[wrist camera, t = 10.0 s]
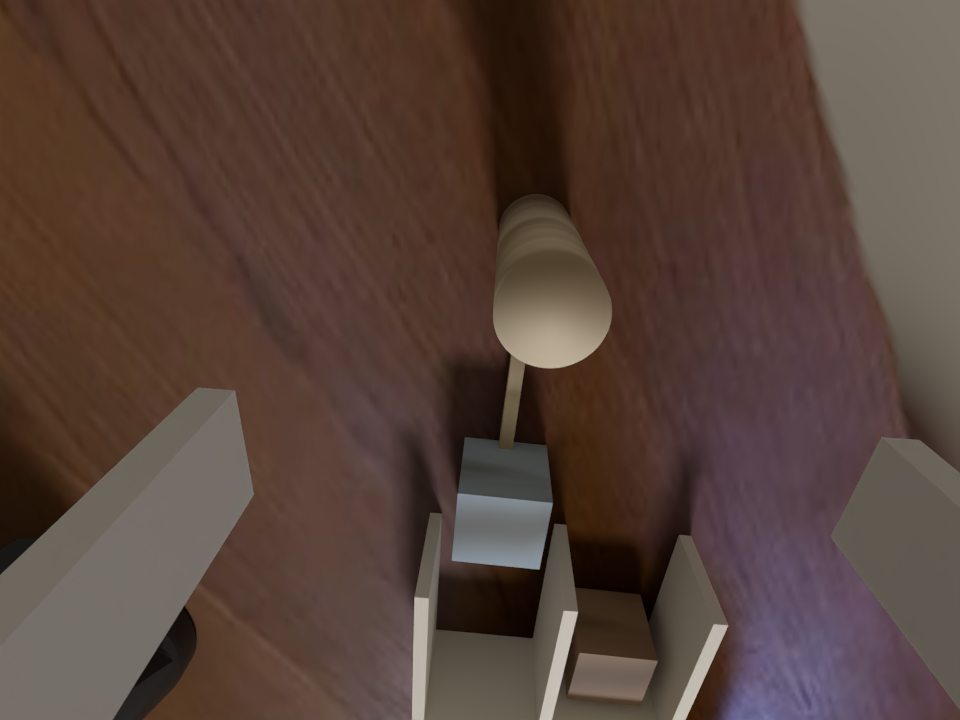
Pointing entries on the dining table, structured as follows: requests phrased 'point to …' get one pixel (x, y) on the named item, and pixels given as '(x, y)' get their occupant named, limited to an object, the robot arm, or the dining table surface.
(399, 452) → the dining table surface
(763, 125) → the dining table surface
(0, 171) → the dining table surface
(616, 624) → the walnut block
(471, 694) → the lane rack
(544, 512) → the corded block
